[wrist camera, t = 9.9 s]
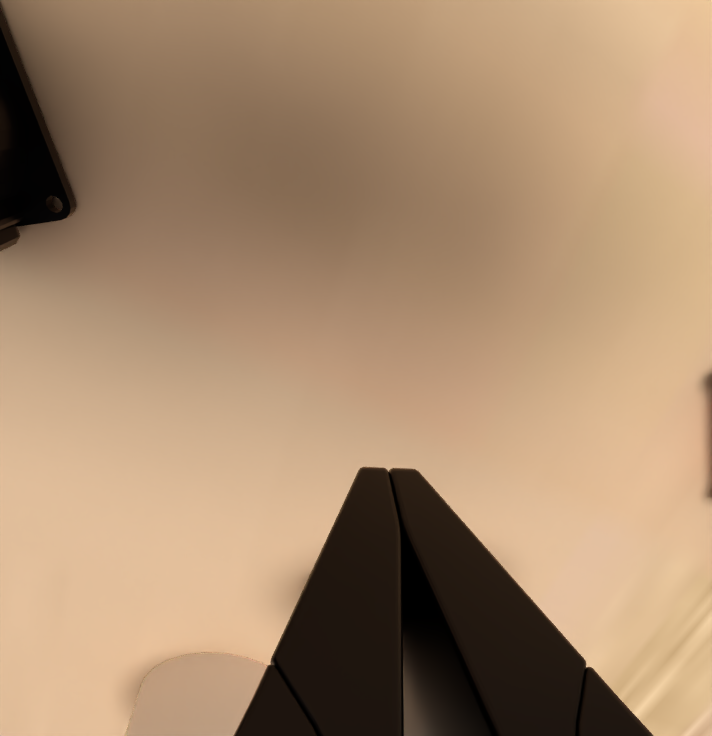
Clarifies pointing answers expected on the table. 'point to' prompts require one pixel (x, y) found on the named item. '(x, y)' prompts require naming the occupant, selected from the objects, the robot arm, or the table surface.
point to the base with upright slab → (195, 696)
